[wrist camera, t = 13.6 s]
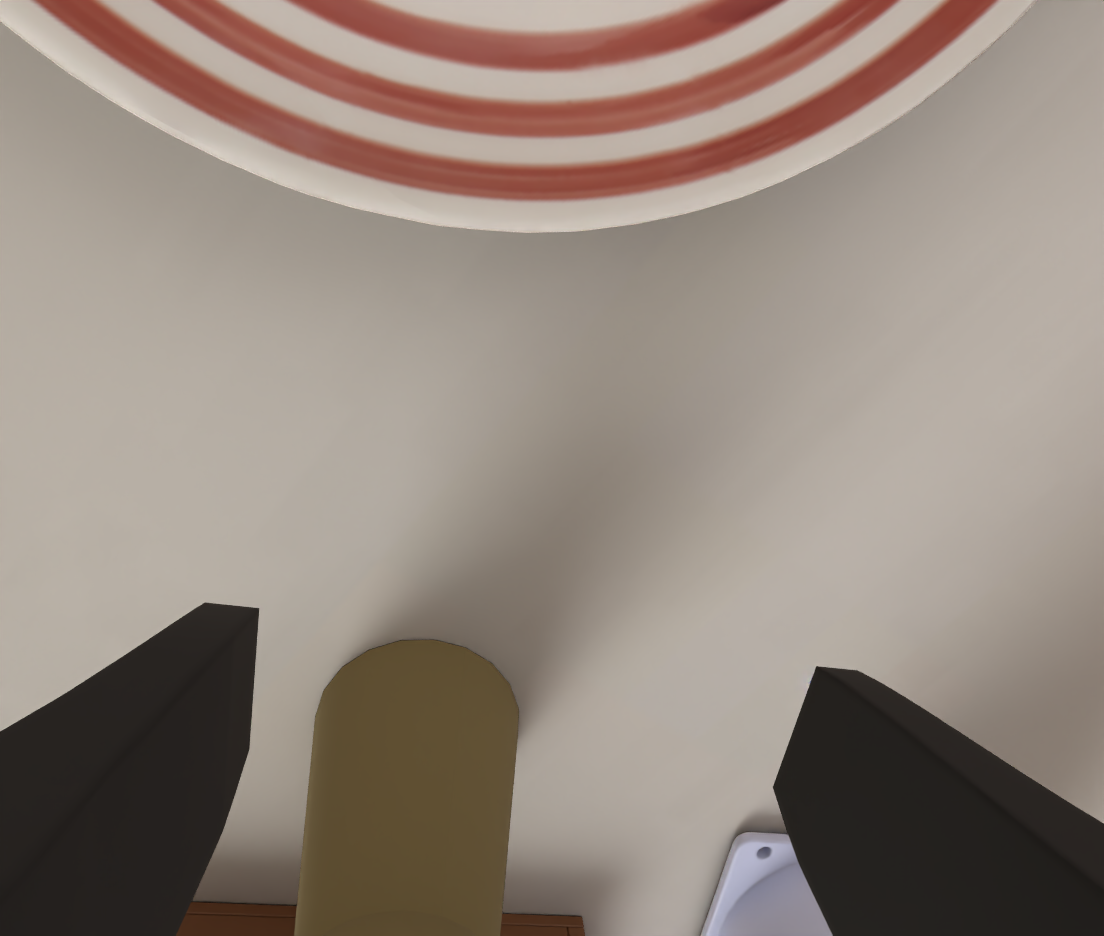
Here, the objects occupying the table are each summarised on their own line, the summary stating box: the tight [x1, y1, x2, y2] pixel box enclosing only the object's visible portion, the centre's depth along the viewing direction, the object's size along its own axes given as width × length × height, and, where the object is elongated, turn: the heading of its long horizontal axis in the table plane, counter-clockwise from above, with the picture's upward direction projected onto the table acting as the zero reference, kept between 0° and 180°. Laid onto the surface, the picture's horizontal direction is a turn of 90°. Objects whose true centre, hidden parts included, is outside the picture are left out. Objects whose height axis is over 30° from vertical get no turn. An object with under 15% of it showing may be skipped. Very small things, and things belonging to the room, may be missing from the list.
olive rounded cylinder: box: [294, 640, 519, 936], centre depth 16 cm, size 6×6×11 cm
